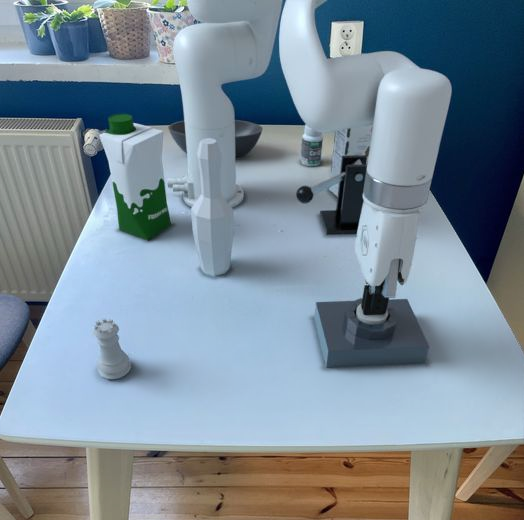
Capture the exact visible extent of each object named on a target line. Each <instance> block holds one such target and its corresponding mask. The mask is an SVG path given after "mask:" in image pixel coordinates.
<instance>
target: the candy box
mask: <svg viewBox="0 0 524 520" xmlns="http://www.w3.org/2000/svg"><path fill="white" fill-rule="evenodd" d="M372 129H373V125H364V126H359V127H355V128H350V129H345V130H340V131H335V132H334V136H333V137H334V139H333V148H332V158H331V168H330V178H332V177H335V176H337V175H339V174H340V170H341V162H342V156H351V155H366V156H367V161H366V164H367V163H368V156H369V149H370V143H371V136H372ZM330 178H329V179H330ZM338 188H339V183H337V184H335V185H333V186H331V187H329V188H328V189H329V190H328V191H330V193H332V195H333V196H334V197H335V198H336V199H337V196H338Z"/></svg>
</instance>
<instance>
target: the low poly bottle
mask: <svg viewBox="0 0 524 520" xmlns="http://www.w3.org/2000/svg"><path fill="white" fill-rule="evenodd" d="M197 159H198V165H199V171H200V181H201V195H200V197H199V198H198V200H197V201H196V202H195V204H194V205H193V207H190V213H191V214H190V217H191V227H192V235H193V240H194V244H195V248H196V249H195V250H196V253H197V257H198V261H199V267H200V270H201V271H202V272H203V273H204V274H206V275H209V276H212V277H217V276H219V275H224V274H226V273H227V272H228V270H230V267H231V259H232V253H233V252H232V251H233V244H234V233H235V231H234V230H235V229H234V209H233V207H232V208H231V206H230V205H229V204H228V203H227V201H226V200H225V199H224V198H223V196H222V195H221V182H220V170H221V152H220V149H219V147H218V144H217V141H216V140H215V139H212V138H206V139H202V140H201V141H200V143H199V147H198V151H197Z"/></svg>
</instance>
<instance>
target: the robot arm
mask: <svg viewBox="0 0 524 520" xmlns="http://www.w3.org/2000/svg"><path fill="white" fill-rule="evenodd" d="M327 1H328V0H285V2H284V6H283V0H186V5H187V8H188V11H189V13H190V16H192V17H193V19H194V20H196V21H198V22H200V23H195V24H191V25H188V26H186V27H183V28H182V29H181V30H179V31H178V32H177V34H176V35H175V37H174V40H173V42H172V43H173V44H172V53H173V54H172V55H173V60H174V65H175V69H176V73H177V78H178V81H179V87H180V93H181V101H182V110H183V121H184V122H185V134H186V146H187V154H186V158H187V169H188V171H187V174H186V175H184V176H182V177H179V178H178V177H167V179H166V180H167V181H166V182H167V188H170V189H171V188H172V191H173V193H178V192H179V193H180V192H182V199H183V202H184V203H185V204H186V205H187V206H189V207H190V208H192V207H193V205H194V204H195V202H196V201H197V200H198V198H199V197H200V195H201V181H200V171H199V165H198V159H197V151H198V147H199V143H200V141H201V140H202V139H206V138H212V139H215V140H216V141H217V144H218V147H219V149H220V152H221V170H220V182H221V195H222V196H223V198H224V199H225V200H226V201H227V203H228V204H229V205H230V206H231V208H232V209H233V208H234V207H236V206H238V205H239V204H241V203H242V202H243V200H244V198H245V197H244V196H245V195H244V194H245V192H244V189H243V188H242V187H241V186H240V185H239V184H237V171H236V170H237V168H236V167H237V166H236V165H237V164H236V162H237V161H236V159H235V120H236V119H235V117H236V116H235V108H234V104H233V103H232V101H231V99H230V98H229V97H228V96H227V94H226V93H225V92H224V90H223V89H222V86H223V85H224V84H228V83H234V82H239V81H247V80H251V79H256V78H259V77H261V76H263V74H265V72H267V69H268V67H269V65H270V62H271V58H272V55H273V50H274V45H275V40H276V34H277V30H278V26H279V33H278V46H279V47H278V49H279V50H278V51H279V53H278V54H279V59H280V60H279V62H280V65H281V70H282V73H283V76H284V79H285V82H286V84H287V88H288V90H289V93H290V97H291V99H292V102H293V104H294V107H295V108H296V111H297V113H298V115H299V117H300V119H301V120H302V122H304V124H305V125H307V126H308V127H309V128H311V129H313V130H314V131H317V132H322V133H324V134H327V133H328V134H329V133H333V132H334V133H335V131H340V130H345V129H350V128H355V127H359V126H364V125H373V129H372V136H371V143H370V149H369V156H368V163H367V170H366V176H365V183H364V190H363V200H364V202H363V206H362V211H361V215H360V220H359V226H358V231H357V234H356V236H355V237H356V238H355V242H354V253H355V256H356V259H357V261H358V265H359V267H360V269H361V272H362V274H363V276H364V281H365V285H364V286H363V292H362V297H361V298H362V304H361V308H362V310H363V314H364V315H384V314H385V313H386V311H387V306H388V301H389V299H396V297H397V296H396V295H397V286H398V284H399V285H400V286H404V285H405V284H406V283H407V282H408V279H409V275H410V273H411V268H412V265H413V264H412V263H413V260H414V255H415V248H416V243H417V242H416V241H417V236H418V229H419V222H420V211H421V210H423V209H424V208H425V207H426V205H427V202H428V198H429V193H430V189H431V185H432V180H433V175H434V171H435V168H436V167H435V166H436V163H437V159H438V154H439V151H440V150H439V149H440V146H441V142H442V136H443V134H444V128H445V124H446V120H447V116H448V111H449V108H450V107H449V106H450V103H451V97H452V91H453V90H452V84H451V81H450V79H449V78H448V77H447V76H446V75H444V74H443V73H440V72H438V71H435V70H431V69H427V68H421V67H420V66H418V65H417V64H416V63H414V61H412V60H411V59H409V58H408V57H407V56H405V55H404V54H402V53H400V52H396V51H392V50H382V51H375V52H368V53H358V54H350V55H343V56H337V57H331V58H327V56H326V54H325V51H324V48H323V45H322V42H321V39H320V37H319V33H318V29H317V27H316V26H317V25H316V19H315V12H316V11H315V10H316V9H317V8H318V7H319V6H321V5H323V4H325V2H327ZM282 6H283V10H282ZM281 12H282V13H281ZM280 16H281V17H280ZM279 21H280V22H279Z"/></svg>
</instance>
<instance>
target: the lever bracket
mask: <svg viewBox="0 0 524 520" xmlns="http://www.w3.org/2000/svg"><path fill="white" fill-rule="evenodd" d="M359 159H360V161H361V163H362V164H359V165H348V164H350V163H352V162H355V161H357V160H359ZM366 161H367V156H366V155H351V156H342V162H341V170H340V174H341V173H343V172H345V171H346V173H345V180H343V181H341V182H339V188H338V196H337V198H336V206H335V209H332V210H331V209H330V210H328V209H327V210H326V209H325V210H319V217H320V220H321V222H322V226H323V229H324V233H325V235H326V236H334V235H335V236H336V235H337V236H339V235H357V231H358V226H359V220H360V215H361V211H362V206H363V202H364V200H363V190H364V183H365V176H366V170H367V164H366ZM345 166H346V167H345Z"/></svg>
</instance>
